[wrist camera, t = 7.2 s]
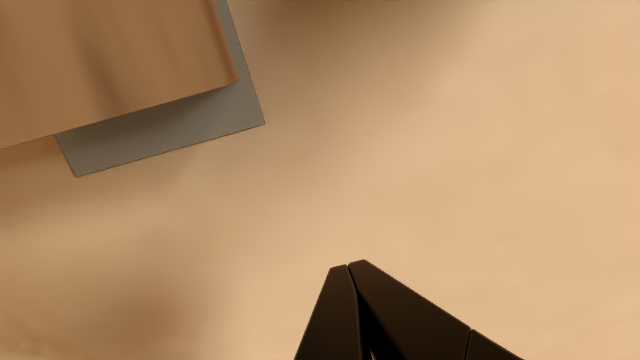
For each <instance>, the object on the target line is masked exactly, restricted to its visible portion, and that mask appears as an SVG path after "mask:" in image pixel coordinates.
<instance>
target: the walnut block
mask: <svg viewBox="0 0 640 360" xmlns="http://www.w3.org/2000/svg"><path fill="white" fill-rule="evenodd" d="M239 78H240V77H239V74H238V71H237V68H236V65H235V62H234V59H233V56H232V53H231V50H230V47H229V44H228V41H227V37H226V34H225V31H224V28H223V25H222V22H221V19H220V16H219V13H218V10H217V7H216V4H215V1H214V0H0V149H2V148H6V147H9V146H13V145H16V144H20V143H23V142H27V141H31V140H34V139H38V138H41V137H45V136H48V135H52V134H56V133H59V132H63V131H66V130H70V129H74V128H77V127H81V126H84V125H88V124H91V123H95V122H99V121H102V120H106V119H109V118H113V117H116V116H120V115H124V114H127V113H131V112H134V111H138V110H141V109H145V108H149V107H152V106H156V105H159V104H163V103H166V102H170V101H174V100H177V99H181V98H184V97H188V96H191V95H195V94H199V93H202V92H206V91H209V90H213V89H216V88H220V87H224V86H227V85H229V84H230V83H232V82H234V81H235V80H237V79H239Z"/></svg>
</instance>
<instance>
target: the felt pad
mask: <svg viewBox="0 0 640 360" xmlns="http://www.w3.org/2000/svg"><path fill="white" fill-rule="evenodd" d="M214 1H215V4H216V7H217V10H218V13H219V16H220V19H221V22H222V25H223V28H224V31H225V34H226V37H227V41H228V44H229V47H230V50H231V53H232V56H233V59H234V62H235V65H236V68H237V71H238V74H239V77H240V78H239V79H237V80H235V81H234V82H232V83H230V84H229V85H227V86H224V87H220V88H216V89H213V90H209V91H206V92H202V93H199V94H195V95H191V96H188V97H184V98H181V99H177V100H174V101H170V102H166V103H163V104H159V105H156V106H152V107H149V108H145V109H141V110H138V111H134V112H131V113H127V114H124V115H120V116H116V117H113V118H109V119H106V120H102V121H99V122H95V123H91V124H88V125H84V126H81V127H77V128H74V129H70V130H66V131H63V132H59V133H56V134H54V136H55V138H56V140H57V142H58V144H59V145H60V147H61V149H62V151H63V153H64V155H65V157H66V159H67V160H68V162H69V164H70V166H71V168H72V170H73V172H74V174H75V175H76V177H79V176H82V175H86V174H89V173H93V172H96V171H100V170H104V169H107V168H111V167H114V166H118V165H121V164H125V163H128V162H132V161H135V160H139V159H142V158H146V157H149V156H153V155H157V154H160V153H164V152H167V151H171V150H174V149H178V148H181V147H185V146H188V145H192V144H195V143H199V142H203V141H206V140H210V139H213V138H217V137H220V136H224V135H227V134H231V133H234V132H238V131H241V130H245V129H249V128H252V127H256V126H259V125H263V124H265V122H264V119H263V115H262V112H261V109H260V106H259V103H258V100H257V97H256V93H255V90H254V87H253V84H252V81H251V78H250V75H249V71H248V68H247V65H246V62H245V59H244V56H243V53H242V49H241V46H240V43H239V40H238V37H237V34H236V30H235V27H234V24H233V21H232V18H231V15H230V12H229V8H228V5H227V2H226V0H214Z"/></svg>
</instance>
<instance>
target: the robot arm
mask: <svg viewBox="0 0 640 360" xmlns="http://www.w3.org/2000/svg"><path fill="white" fill-rule="evenodd" d="M371 353H372V354H371ZM372 356H373V358H372ZM373 359H374V360H524V359H522V358H520V357H518V356H517V355H515V354H513V353H512V352H510V351H508V350H507V349H505V348H503V347H502V346H500V345H498V344H497V343H495V342H493V341H492V340H490V339H488V338H487V337H485V336H484V335H482V334H481V333H479V332H478V331H476V330H474V329H472V330H471V328H470V327H469V326H468V325H466V324H465V323H463V322H462V321H460V320H459V319H457V318H455V317H454V316H452V315H451V314H449V313H448V312H446V311H445V310H443V309H441V308H440V307H438V306H437V305H435V304H434V303H432V302H431V301H429V300H427V299H426V298H424V297H423V296H421V295H420V294H418V293H416V292H415V291H413V290H412V289H410V288H409V287H407V286H406V285H404V284H402V283H401V282H399V281H398V280H396V279H395V278H393V277H392V276H390V275H388V274H387V273H385V272H384V271H382V270H381V269H379V268H378V267H376V266H374V265H373V264H371V263H370V262H368V261H367V260H364V259H363V260H359V261H355V262H351V263H349V264H348V266H347V265H345V264H344V265H340V266H336V267H332V268H330V270H329V272H328V275H327V277H326V280H325V282H324V285H323V287H322V290H321V292H320V295H319V297H318V300H317V302H316V305H315V307H314V310H313V312H312V315H311V317H310V320H309V322H308V325H307V327H306V330H305V332H304V335H303V338H302V340H301V343H300V345H299V348H298V350H297V353H296V355H295V358H294V360H373Z"/></svg>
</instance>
